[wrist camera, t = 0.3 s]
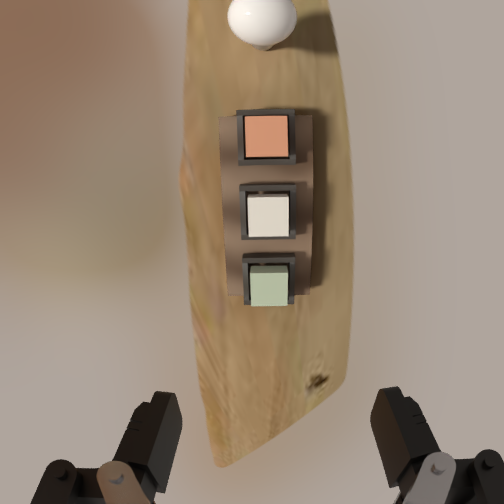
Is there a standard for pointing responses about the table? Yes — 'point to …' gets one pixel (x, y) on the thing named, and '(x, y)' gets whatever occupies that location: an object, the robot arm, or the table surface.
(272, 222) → the offwhite button
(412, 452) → the robot arm
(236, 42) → the table surface
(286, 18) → the lightbulb
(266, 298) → the sage button
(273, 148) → the terracotta button
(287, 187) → the button board
